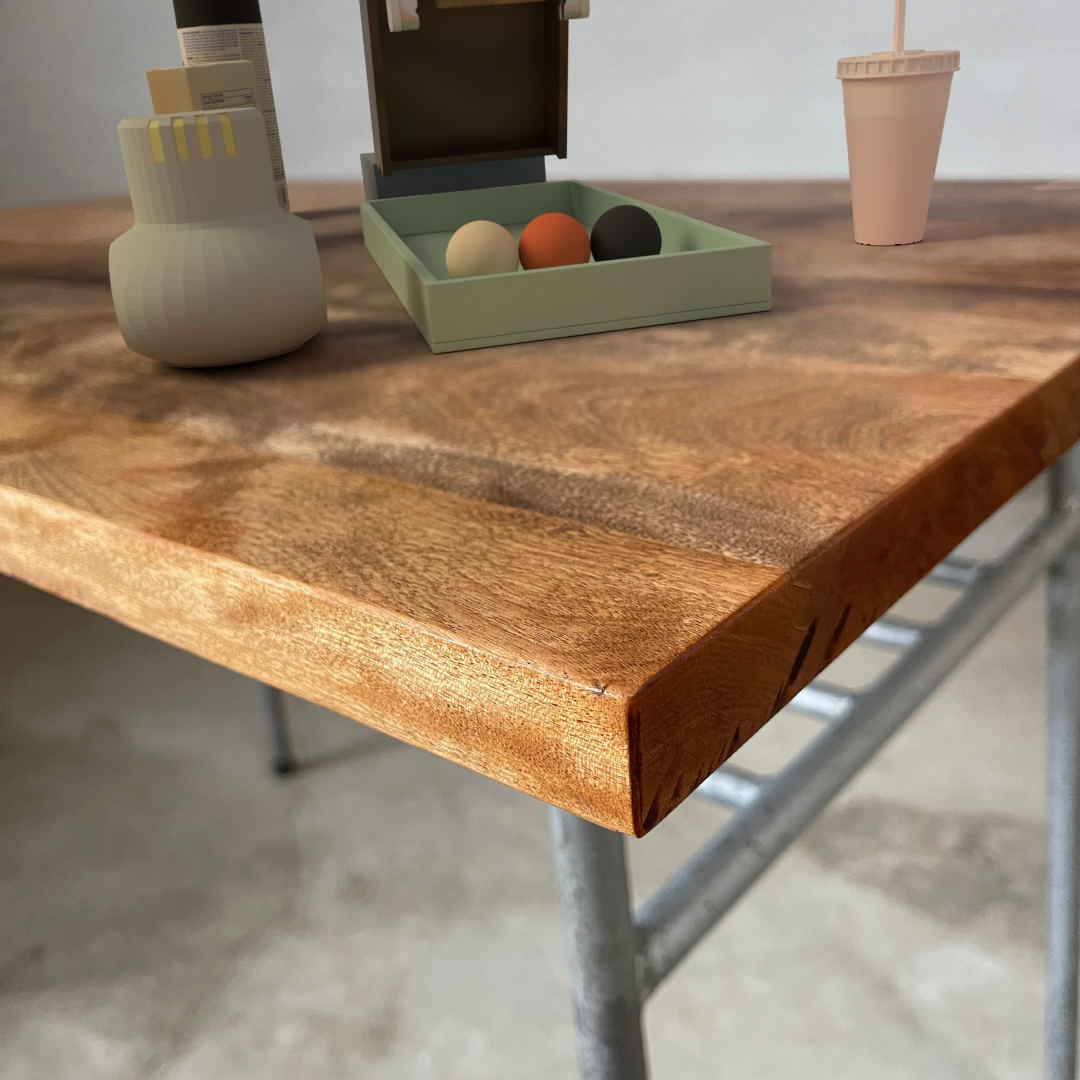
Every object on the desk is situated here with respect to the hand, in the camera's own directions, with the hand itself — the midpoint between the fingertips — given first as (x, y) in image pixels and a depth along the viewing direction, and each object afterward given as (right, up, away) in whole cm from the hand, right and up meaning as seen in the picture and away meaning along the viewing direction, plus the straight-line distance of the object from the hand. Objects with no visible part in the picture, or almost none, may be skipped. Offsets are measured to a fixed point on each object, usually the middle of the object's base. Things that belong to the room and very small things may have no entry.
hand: (490, 25), depth 61 cm
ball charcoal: (+7, -13, -5) cm, 16 cm away
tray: (+2, -13, +2) cm, 13 cm away
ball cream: (0, -14, -6) cm, 16 cm away
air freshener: (-11, -20, -11) cm, 25 cm away
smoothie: (+23, -11, +2) cm, 25 cm away
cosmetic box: (-19, -7, +19) cm, 28 cm away
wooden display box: (-2, +3, +11) cm, 12 cm away
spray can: (-22, -1, +34) cm, 40 cm away
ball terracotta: (+3, -14, -6) cm, 15 cm away
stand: (-4, -4, +24) cm, 25 cm away
